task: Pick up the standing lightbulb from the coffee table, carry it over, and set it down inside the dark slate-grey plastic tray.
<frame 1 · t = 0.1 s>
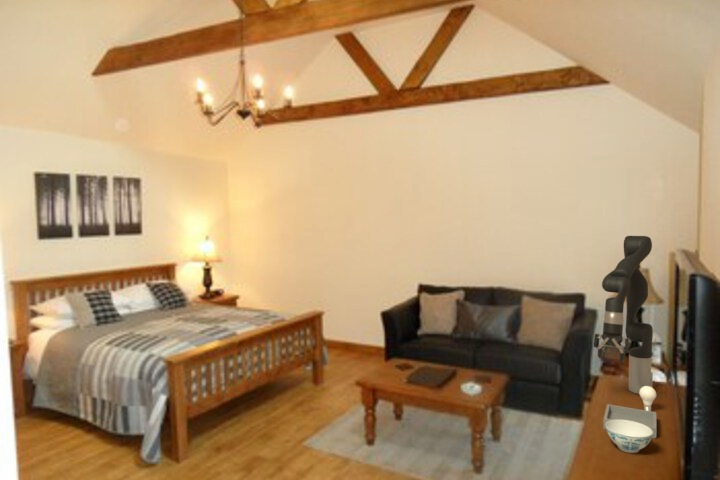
hand: (610, 360, 212), 22 cm above the tv stand, tool pointing down, fingers open, 8 cm apart
lightbulb: (647, 411, 213), on the tv stand
chinaware: (628, 449, 178), on the tv stand
tray: (630, 425, 198), on the tv stand
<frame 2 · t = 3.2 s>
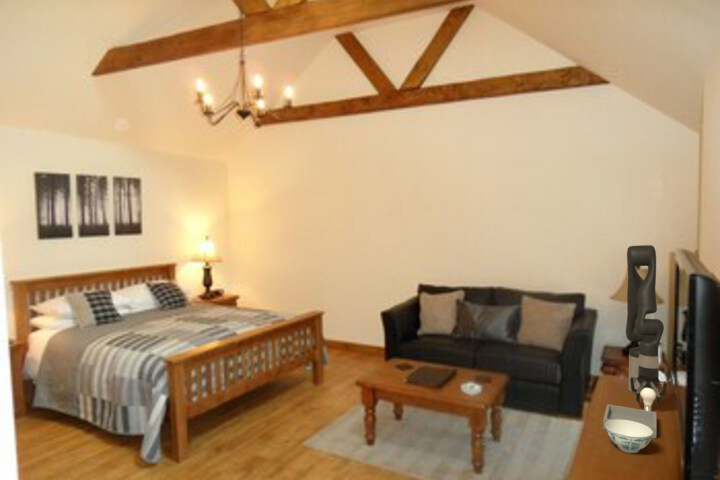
hand: (647, 403, 212), 4 cm above the tv stand, tool pointing down, fingers closed on lightbulb, 6 cm apart
lightbulb: (647, 411, 213), on the tv stand, touching gripper
everything else where it was.
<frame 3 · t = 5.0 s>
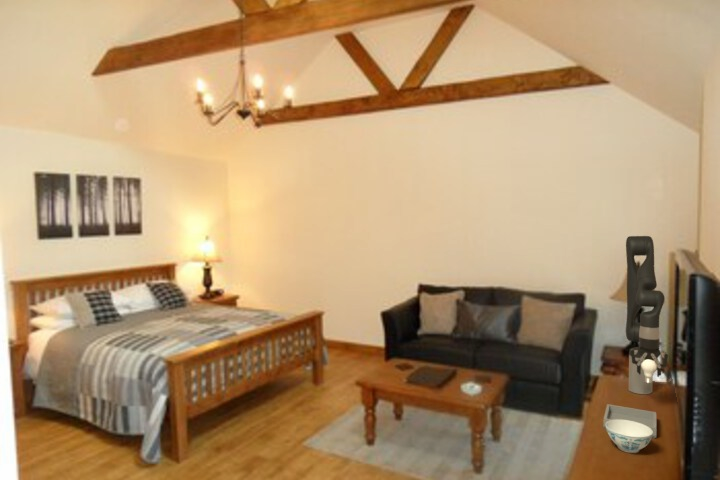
hand: (648, 374, 212), 16 cm above the tv stand, tool pointing down, fingers closed on lightbulb, 6 cm apart
lightbulb: (648, 383, 212), point 12 cm above the tv stand, touching gripper
everything else where it was.
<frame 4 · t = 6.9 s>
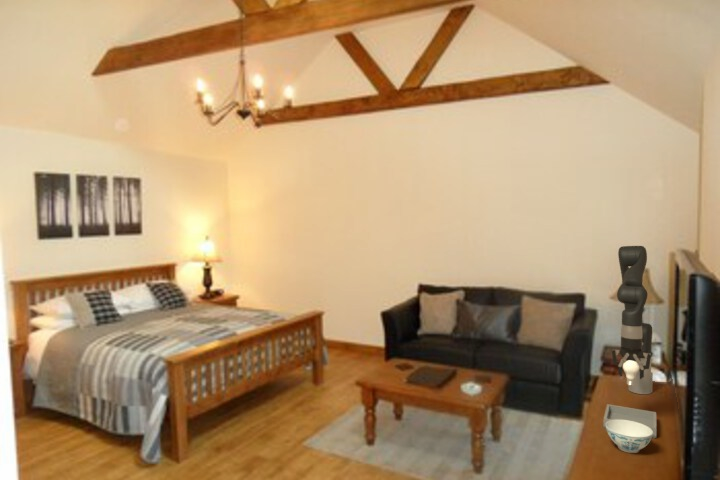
hand: (630, 377, 198), 20 cm above the tv stand, tool pointing down, fingers closed on lightbulb, 6 cm apart
lightbulb: (630, 386, 198), point 16 cm above the tv stand, touching gripper
everything else where it was.
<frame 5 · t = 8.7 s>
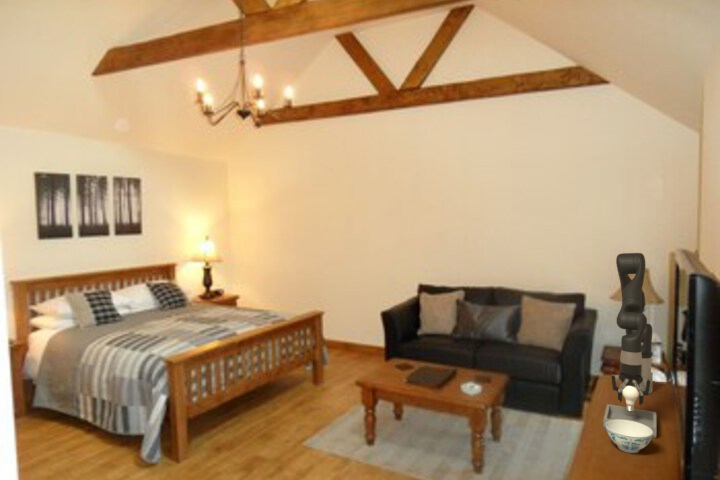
hand: (630, 402, 198), 9 cm above the tv stand, tool pointing down, fingers closed on lightbulb, 6 cm apart
lightbulb: (629, 411, 198), point 5 cm above the tv stand, touching gripper
everything else where it was.
when the fingers open (6 cm above the tv stand, at t = 10.3 s): lightbulb drops 2 cm, resting on tray.
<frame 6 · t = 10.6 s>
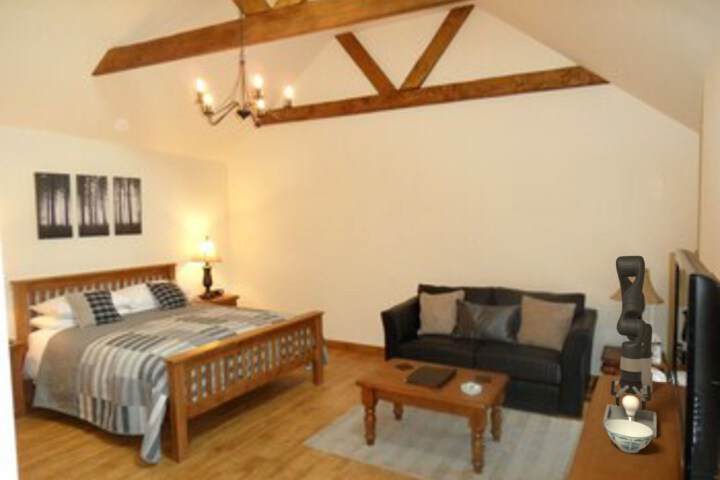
hand: (630, 407, 198), 7 cm above the tv stand, tool pointing down, fingers open, 8 cm apart
lightbulb: (630, 422, 199), point 1 cm above the tv stand, touching tray
everything else where it was.
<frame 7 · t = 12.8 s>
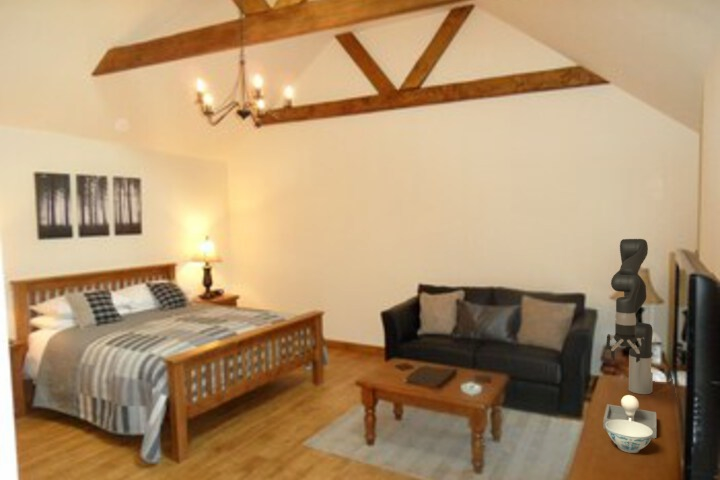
hand: (625, 360, 206), 24 cm above the tv stand, tool pointing down, fingers open, 8 cm apart
nothing on the tv stand moved.
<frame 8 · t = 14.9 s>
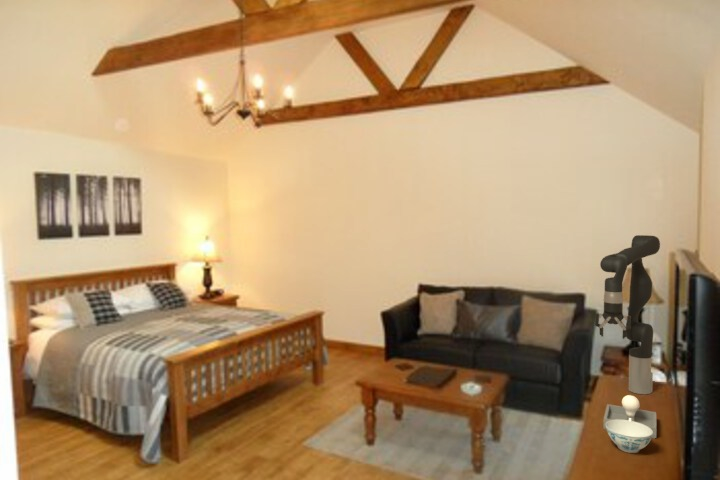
hand: (612, 337, 221), 30 cm above the tv stand, tool pointing down, fingers open, 8 cm apart
nothing on the tv stand moved.
at the end: lightbulb inside the target area on the tray (0.5 cm from its centre), point 0.8 cm above the tray's base; the gripper is holding nothing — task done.
